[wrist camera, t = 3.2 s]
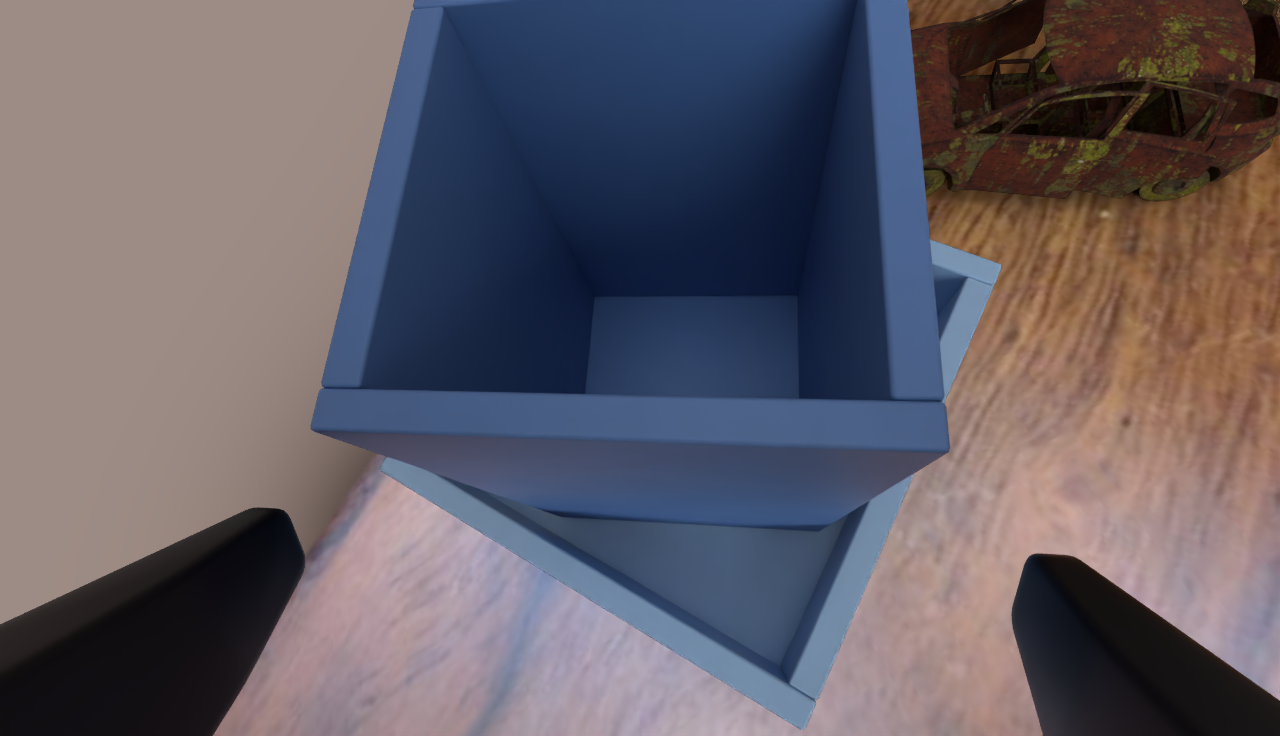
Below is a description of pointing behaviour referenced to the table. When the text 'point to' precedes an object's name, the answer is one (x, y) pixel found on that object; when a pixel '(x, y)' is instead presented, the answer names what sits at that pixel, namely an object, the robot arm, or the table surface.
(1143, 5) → the toy car
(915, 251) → the upper bin
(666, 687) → the table surface
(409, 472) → the lower bin
